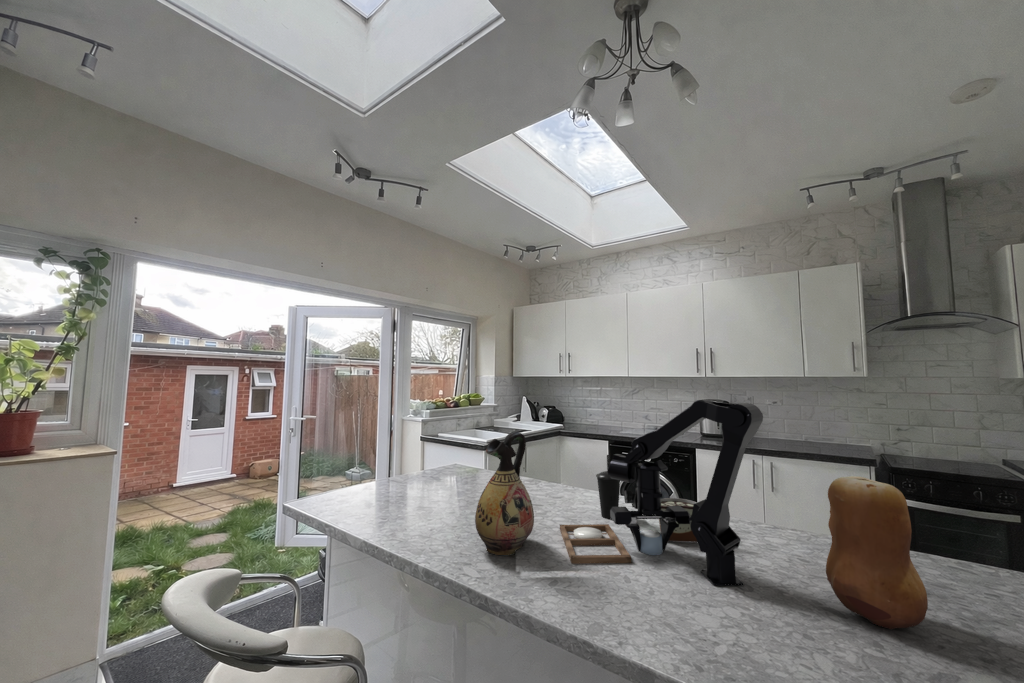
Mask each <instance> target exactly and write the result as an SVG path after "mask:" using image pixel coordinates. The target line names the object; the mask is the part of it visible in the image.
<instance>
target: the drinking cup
mask: <svg viewBox="0 0 1024 683" xmlns="http://www.w3.org/2000/svg"><path fill="white" fill-rule="evenodd" d="M609 465H610V455H609V454H606V469H607V470H605V471H601V472H599V473H597V474H595V478H596V479H597V487H598V497H599V504H600V516H601V517H602V518H603V519H606V520H612V519H611V517H610V510H611V508H612V507H620V506H619V505H620V502H619V501H620V489H621V488H620V486H621V485H620V484H621V481H619V480H614V479H611V477H610V476H609V472H608V468H609Z"/></svg>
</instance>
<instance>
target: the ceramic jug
mask: <svg viewBox="0 0 1024 683" xmlns="http://www.w3.org/2000/svg"><path fill="white" fill-rule="evenodd" d="M513 441H517V442H518V446H517V451H516V452H515V450H514V448H513V446H512V442H513ZM526 442H527V441H526V437H525V435H524V434H523V433H522V432H519V431H514V432H513V431H512V432H510V433H508V434H507V435H506V436H505V438H504V441H500V439H498V438H497V439H496V438H494V439H492V440H490V442H488V444H487V445H486V447H485V448H486V449H485V452H486V454H488V455H491V456H493V457H495V458H497V459H498V460H500V461H499V465H498V467H497V469H496V471H495V472H494V473H493V475H492V476H491V478H490V479H489V481H488V482H487V484H486V486H485V487H484V489H483V491H482V493H480V494H481V495H480V497H479V499H478V502H477V506H476V512H475V516H474V517H475V518H474V522H475V529H476V532H477V534H478V536H479V538H480V539H481V541H482V543H483V544H484V545H485V550H486V549H487V550H486V552H487V551H488V552H489V553H488V552H487V553H488V554H492V555H494V554H495V556H498V555H508V556H510V555H511V556H512V555H515V554H516V551H517V550H519V549H521V548H522V547H523V544H524V542H525V541H526V540H527V539H528V537H529V536H530V535H531V533H532V531H533V530H534V524H535V513H534V507H533V503H532V500H531V497H530V494H529V492H528V490H527V488H526V486H525V485H524V482H523V481H522V480H521V475H520V474H521V466H522V464H523V458H524V455H525V452H526V446H527V443H526ZM514 457H515V459H514V461H513V459H512V458H514Z"/></svg>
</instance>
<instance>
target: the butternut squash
mask: <svg viewBox="0 0 1024 683" xmlns="http://www.w3.org/2000/svg"><path fill="white" fill-rule="evenodd" d="M827 498H828V502H829V519H828V522H827V523H828V524H827V525H828V528H829V529H828V530H829V532H830V535H831V546H830V549H829V551H828V555H827V558H826V563H825V564H826V565H825V575H826V577H827V578H826V579H827V581H828V583H829V584H830V587H831V589H832V590H833V593H834V594H835V596H836V597H837V599H838V600H839V601H840V603H841V604H842V605H843V606H844V607H845V608H846V609H848V610H849V611H851V612H853V613H854V614H855V615H858V616H860V617H862V618H864V619H866V620H868V621H869V622H871V624H873V625H874V624H876V625H875V626H877V625H878V627H881V626H882V627H881V628H886V629H889V630H891V629H892V630H894V629H909V628H912V627H917V626H918V625H920V624H921V623H923V621H924V620H925V618H926V614H927V611H928V606H929V600H928V593H927V589H926V587H925V585H924V583H923V580H922V578H921V576H920V575H919V572H918V570H917V569H916V567H915V565H914V563H913V561H912V559H911V554H910V553H911V551H910V550H911V544H912V543H911V542H912V533H913V531H912V523H911V516H910V512H909V509H908V508H909V507H908V502H907V499H906V497H905V496H904V494H903V492H902V491H901V490H900V489H898V488H897V487H895V486H894V485H892V484H889V483H885V482H880V481H876V480H873V479H870V478H867V477H862V476H850V475H849V476H841V477H840V476H839V477H837V478H835V479H833V481H832V482H831V483H830V485H829V487H828V490H827Z"/></svg>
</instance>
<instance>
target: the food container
mask: <svg viewBox="0 0 1024 683" xmlns="http://www.w3.org/2000/svg"><path fill="white" fill-rule="evenodd" d="M695 503H697V502H696V501H693V500H691V499H686V498H677V497H667V498H661V510H663V511H666V508H667V506H681V507H682V508H684V509H685V510H686V511H688V512H689V514H690V516H691V515H692V510H693V505H694V504H695ZM658 523H659V531H660V532H661V524H660V519H658ZM677 524H679V523H678V522H677ZM690 525H691V523H690V524H679V527H678V528H675V530H674V531H673V533H672V535H671V537H670V539H669V541H673V542H672V543H693V542H697V539H696V537H695V536H694V534H693V532H692V531H691V528H690ZM675 541H676V542H675Z"/></svg>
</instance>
